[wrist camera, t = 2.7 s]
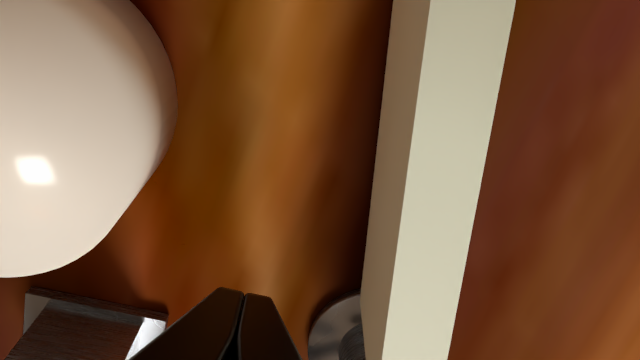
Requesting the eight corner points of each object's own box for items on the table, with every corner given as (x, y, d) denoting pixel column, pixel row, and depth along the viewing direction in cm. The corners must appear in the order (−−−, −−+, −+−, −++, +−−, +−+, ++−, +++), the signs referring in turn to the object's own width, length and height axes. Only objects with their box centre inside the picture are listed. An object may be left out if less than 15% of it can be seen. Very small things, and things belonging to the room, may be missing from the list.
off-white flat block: (404, 299, 18) (434, 437, 13) (359, 296, 18) (373, 434, 13) (458, -69, 14) (534, -77, 9) (400, -73, 14) (444, -84, 9)
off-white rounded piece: (161, 227, 17) (116, 303, 14) (-75, 176, 17) (-188, 242, 13) (196, -5, 15) (154, 11, 11) (-81, -75, 14) (-225, -83, 10)
